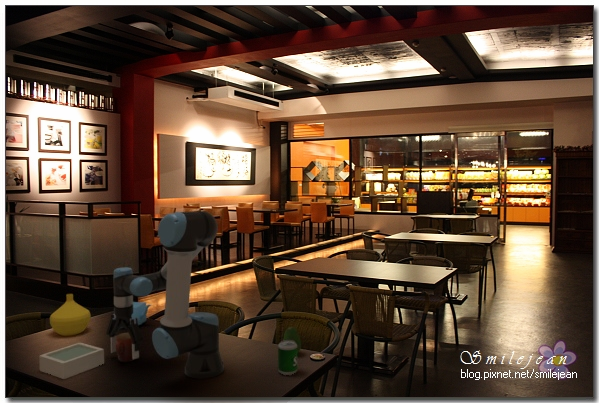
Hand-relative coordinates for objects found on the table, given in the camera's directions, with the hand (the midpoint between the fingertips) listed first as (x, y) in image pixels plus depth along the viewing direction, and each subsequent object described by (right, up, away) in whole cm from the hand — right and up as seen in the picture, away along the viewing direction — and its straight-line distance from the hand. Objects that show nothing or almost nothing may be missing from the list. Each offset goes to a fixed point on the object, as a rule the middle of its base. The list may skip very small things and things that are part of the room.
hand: (124, 355), depth 209 cm
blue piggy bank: (-11, 0, +48) cm, 49 cm away
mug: (0, -3, 0) cm, 3 cm away
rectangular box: (-19, -3, -6) cm, 20 cm away
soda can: (+69, -3, -13) cm, 70 cm away
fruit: (+70, -2, +6) cm, 70 cm away
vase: (-40, -1, +38) cm, 55 cm away
